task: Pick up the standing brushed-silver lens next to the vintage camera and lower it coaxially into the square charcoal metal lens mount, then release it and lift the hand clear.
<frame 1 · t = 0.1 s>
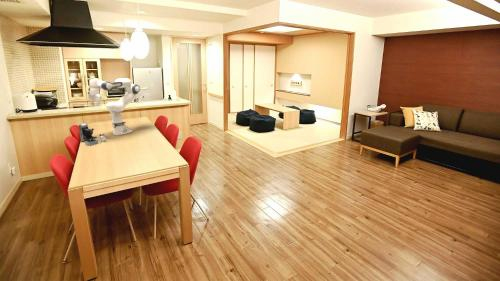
hand: (95, 105, 300), 39 cm above the table, fingers open, 8 cm apart
lens: (103, 141, 299), on the table
lens mount: (91, 144, 290), on the table
vintage camera: (90, 141, 301), on the table
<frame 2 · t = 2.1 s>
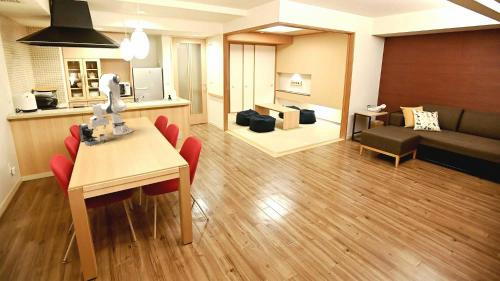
hand: (100, 129, 294), 13 cm above the table, fingers open, 8 cm apart
nothing on the table moved.
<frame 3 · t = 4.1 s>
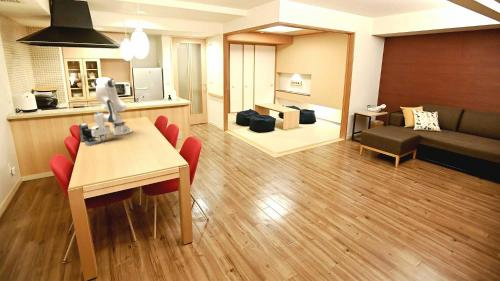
hand: (102, 138, 298), 3 cm above the table, fingers closed on lens, 5 cm apart
lens: (103, 141, 299), on the table, touching gripper
everything else where it was.
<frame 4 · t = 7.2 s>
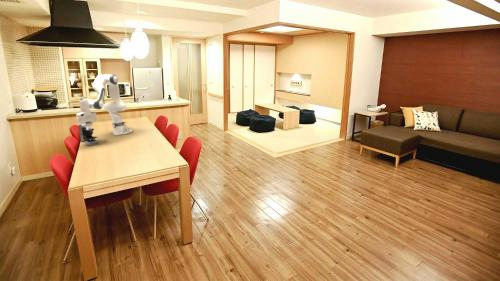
hand: (88, 126, 284), 20 cm above the table, fingers closed on lens, 5 cm apart
lens: (89, 129, 285), point 17 cm above the table, touching gripper
everything else where it was.
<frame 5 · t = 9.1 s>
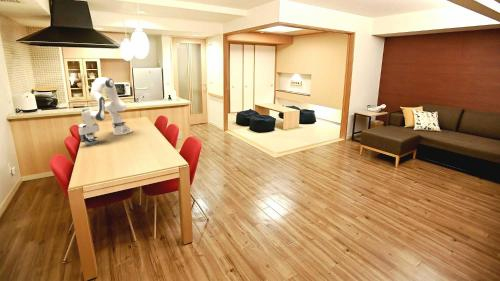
hand: (90, 136, 287), 8 cm above the table, fingers closed on lens, 5 cm apart
lens: (91, 140, 288), point 4 cm above the table, touching gripper
everything else where it was.
when the fingers open (6 cm above the table, at t = 10.5 s): lens stays where it is, resting on lens mount.
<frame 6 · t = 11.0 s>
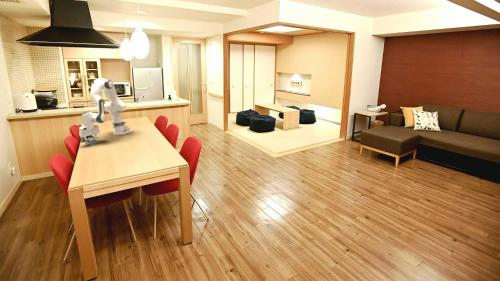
hand: (91, 139, 288), 6 cm above the table, fingers open, 8 cm apart
lens: (91, 143, 289), point 1 cm above the table, touching lens mount
everything else where it was.
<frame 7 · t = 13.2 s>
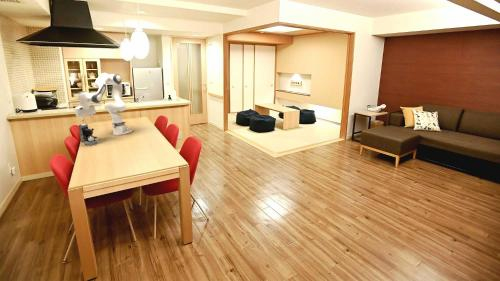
hand: (87, 119, 290), 26 cm above the table, fingers open, 8 cm apart
nothing on the table moved.
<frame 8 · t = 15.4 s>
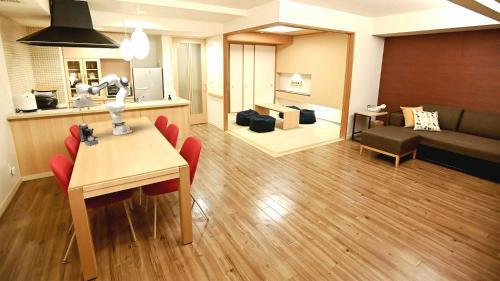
hand: (84, 110, 302), 33 cm above the table, fingers open, 8 cm apart
nothing on the table moved.
at the end: lens 0.1 cm off-centre on the lens mount, point 1.1 cm above the lens mount's base; lens tilted 2°; the gripper is holding nothing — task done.
